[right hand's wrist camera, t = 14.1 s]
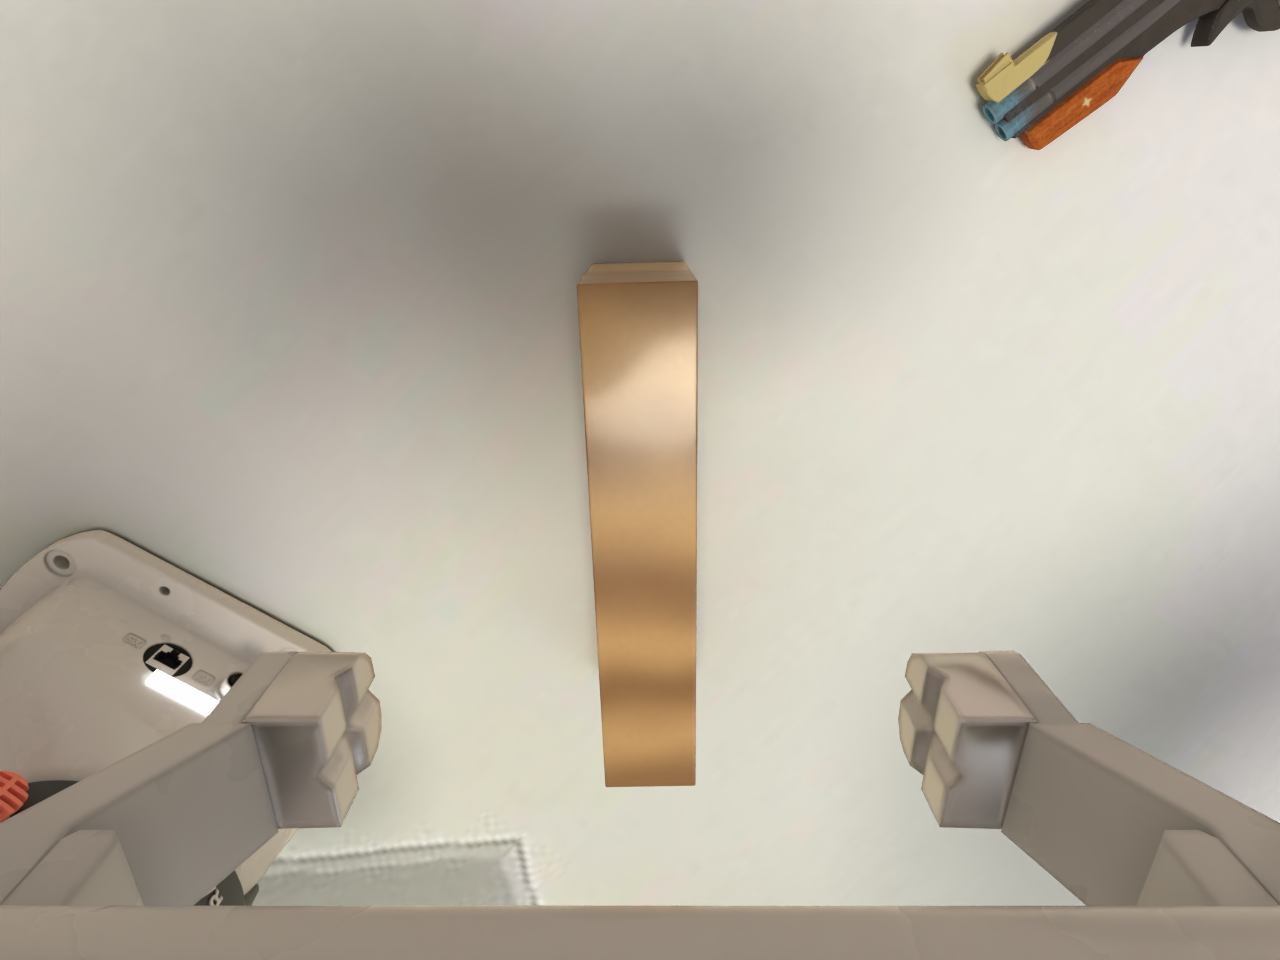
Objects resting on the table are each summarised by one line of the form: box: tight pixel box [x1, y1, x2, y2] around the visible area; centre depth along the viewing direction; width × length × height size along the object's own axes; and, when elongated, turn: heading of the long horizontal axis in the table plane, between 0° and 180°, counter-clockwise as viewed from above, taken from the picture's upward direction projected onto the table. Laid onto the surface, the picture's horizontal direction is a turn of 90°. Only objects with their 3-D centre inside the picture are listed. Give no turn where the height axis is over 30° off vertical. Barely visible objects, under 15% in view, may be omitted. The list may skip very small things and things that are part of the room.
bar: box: [577, 262, 698, 787], centre depth 35 cm, size 25×4×9 cm, turn 1°
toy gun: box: [976, 0, 1280, 150], centre depth 29 cm, size 3×19×10 cm
